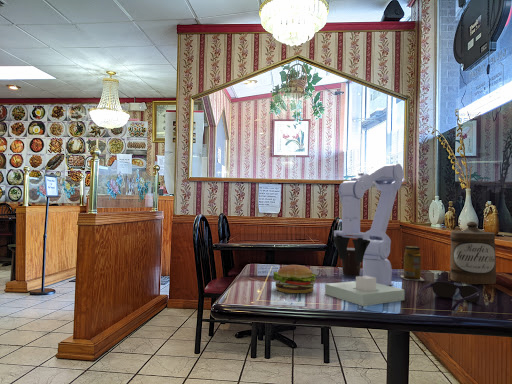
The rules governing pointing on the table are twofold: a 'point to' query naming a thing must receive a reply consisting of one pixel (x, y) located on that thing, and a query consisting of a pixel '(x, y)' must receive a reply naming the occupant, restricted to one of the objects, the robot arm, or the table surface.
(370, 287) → the block
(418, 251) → the condiment
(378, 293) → the pale green square slab
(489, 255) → the wooden container
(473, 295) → the sunglasses
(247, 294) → the table surface
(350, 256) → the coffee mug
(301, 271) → the food
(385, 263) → the robot arm
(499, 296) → the table surface
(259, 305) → the table surface
